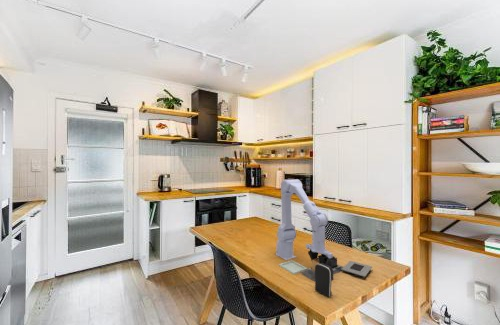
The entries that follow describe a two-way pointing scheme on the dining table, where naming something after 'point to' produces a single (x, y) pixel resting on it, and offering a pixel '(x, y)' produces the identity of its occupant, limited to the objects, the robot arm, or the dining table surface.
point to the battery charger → (323, 279)
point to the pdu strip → (311, 276)
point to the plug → (315, 263)
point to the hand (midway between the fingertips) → (318, 268)
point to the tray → (293, 267)
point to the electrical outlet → (356, 268)
